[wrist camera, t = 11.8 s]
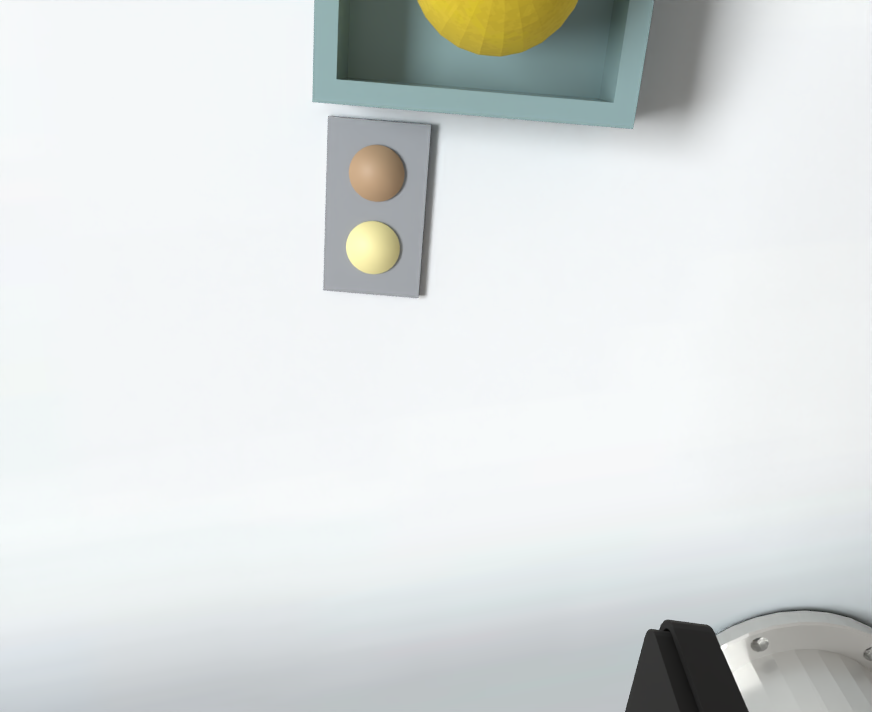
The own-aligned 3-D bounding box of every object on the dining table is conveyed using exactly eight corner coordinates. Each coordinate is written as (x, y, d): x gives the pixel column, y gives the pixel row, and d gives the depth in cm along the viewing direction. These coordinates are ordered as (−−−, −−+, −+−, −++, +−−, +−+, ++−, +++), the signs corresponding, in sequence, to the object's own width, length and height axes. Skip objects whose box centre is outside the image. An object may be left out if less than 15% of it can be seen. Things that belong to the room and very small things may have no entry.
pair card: (431, 124, 30) (430, 125, 30) (418, 296, 33) (418, 298, 32) (329, 116, 30) (327, 116, 30) (324, 288, 33) (322, 291, 32)
